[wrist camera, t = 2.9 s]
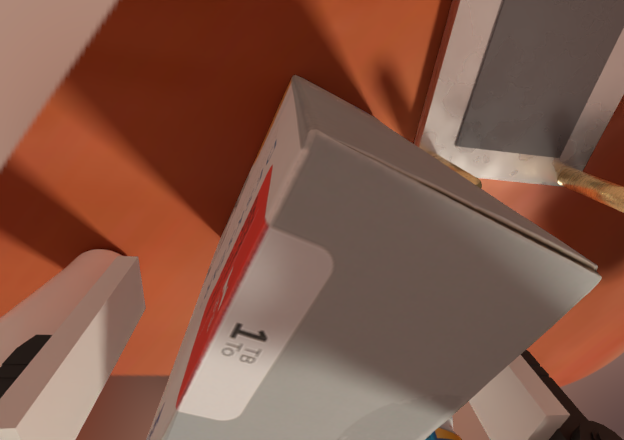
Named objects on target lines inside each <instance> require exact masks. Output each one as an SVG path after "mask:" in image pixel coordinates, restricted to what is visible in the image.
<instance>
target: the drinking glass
mask: <svg viewBox="0 0 624 440" xmlns="http://www.w3.org/2000/svg"><path fill="white" fill-rule="evenodd" d="M117 256H122V255H121V254H119V253H116V252H114V251H111V250H106V249H94V250H89V251H86V252H84V253H82V254H80V255H79V256H77V257H76V258H75V259H74V260H73V261H72V262H71V263H70V264H69V265H68V266H67V267H65V268H64V269H63V270H62V271H60V272H59V273H58V274H57V275H55V276H54V277H53V278H51V279H50V280H49V281H48V282H46V283H45V284H44V285H42V286H41V287H40V288H38V289H37V290H36V291H35V292H33V293H32V294H31V295H29V296H28V297H27V298H25V299H24V300H23V301H22V302H20V303H19V304H18V305H16V306H15V307H14V308H12V309H11V310H10V311H8V312H7V313H6V314H4V315H3V316H2V317H1V318H0V367H1V366H2V363H3V362H4V361H5V360H6V359H7V358H8V357H9V356H10V355H11V353H12V352H13V351H14V350H15V349H16V348H17V347H19V346H20V345H22V344H23V343H25V342H26V341H28V340H29V339H30V338H32V337H33V336H35V335H53V334H54V333H55V332H56V330H57V329H58V328H59V327H60V325H61V324H62V323H63V322H64V321H65V319H66V318H67V317H68V316H69V315H70V313H71V312H72V311H73V310H74V308H75V307H76V306H77V305H78V304H79V302H80V301H81V300H82V299H83V297H84V296H85V295H86V294H87V293H88V291H89V290H90V289H91V288H92V287H93V285H94V284H95V283H96V282H97V280H98V279H99V278H100V277H101V276H102V274H103V273H104V272H105V271H106V270H107V268H108V267H109V266H110V265H111V263H112V262H113V261H114V260H115V259H116V257H117Z"/></svg>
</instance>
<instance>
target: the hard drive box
mask: <svg viewBox="0 0 624 440" xmlns="http://www.w3.org/2000/svg"><path fill="white" fill-rule="evenodd" d="M597 267H598V266H597V265H596V264H594V263H593V262H591V261H590V260H588V259H587V258H585V257H584V256H583V255H581V254H580V253H578V252H577V251H575V250H574V249H572V248H571V247H569V246H568V245H566V244H565V243H563V242H562V241H560V240H559V239H557V238H556V237H554V236H553V235H551V234H549V233H548V232H546V231H545V230H543V229H542V228H540V227H539V226H537V225H536V224H534V223H533V222H531V221H529V220H528V219H526V218H525V217H523V216H522V215H520V214H518V213H517V212H515V211H514V210H512V209H511V208H509V207H508V206H506V205H505V204H503V203H502V202H500V201H499V200H497V199H496V198H494V197H493V196H491V195H490V194H488V193H487V192H485V191H484V190H482V189H481V188H479V187H478V186H476V185H475V184H473V183H472V182H470V181H469V180H467V179H466V178H464V177H463V176H461V175H460V174H458V173H457V172H455V171H454V170H452V169H451V168H449V167H448V166H446V165H445V164H443V163H442V162H440V161H439V160H437V159H436V158H434V157H433V156H431V155H430V154H428V153H427V152H425V151H424V150H422V149H421V148H419V147H417V146H416V145H414V144H413V143H411V142H410V141H408V140H406V139H405V138H403V137H402V136H400V135H399V134H397V133H396V132H394V131H393V130H391V129H390V128H388V127H387V126H386V125H384V124H383V123H381V122H380V121H379V120H378V119H376V118H375V117H373V116H372V115H370V114H368V113H366V112H365V111H363V110H361V109H359V108H357V107H356V106H354V105H352V104H350V103H348V102H346V101H345V100H343V99H341V98H339V97H337V96H335V95H333V94H332V93H330V92H328V91H326V90H324V89H322V88H321V87H319V86H317V85H315V84H313V83H311V82H309V81H307V80H306V79H304V78H302V77H299V76H297V75H293V77H292V78H291V80H290V83H289V85H288V87H287V89H286V91H285V94H284V96H283V98H282V100H281V102H280V105H279V107H278V109H277V111H276V114H275V116H274V118H273V121H272V123H271V125H270V127H269V130H268V132H267V134H266V136H265V139H264V141H263V143H262V145H261V148H260V150H259V152H258V154H257V157H256V159H255V161H254V163H253V166H252V168H251V170H250V172H249V175H248V177H247V179H246V181H245V184H244V186H243V188H242V191H241V193H240V195H239V197H238V199H237V202H236V204H235V206H234V208H233V211H232V213H231V215H230V218H229V220H228V222H227V225H226V227H225V229H224V231H223V234H222V236H221V238H220V241H219V244H218V246H217V249H216V251H215V254H214V257H213V259H212V262H211V265H210V267H209V270H208V273H207V276H206V278H205V281H204V284H203V287H202V290H201V292H200V295H199V298H198V301H197V303H196V306H195V309H194V312H193V314H192V317H191V320H190V322H189V325H188V328H187V331H186V333H185V336H184V339H183V342H182V344H181V347H180V350H179V353H178V355H177V358H176V361H175V363H174V366H173V369H172V371H171V374H170V377H169V380H168V382H167V385H166V388H165V390H164V393H163V396H162V399H161V401H160V404H159V407H158V409H157V412H156V415H155V417H154V420H153V423H152V426H151V428H150V431H149V434H148V436H147V439H146V440H425V439H426V438H427V437H428V436H429V435H431V434H432V433H433V432H434V431H435V430H436V429H437V428H439V427H440V426H441V425H442V424H443V423H444V422H446V421H447V420H448V419H449V418H450V417H451V416H452V415H454V414H455V413H456V412H457V411H458V410H459V409H460V408H461V407H463V406H464V405H465V404H466V403H467V402H468V401H469V400H470V399H471V398H473V397H474V396H475V395H476V394H477V393H478V392H479V391H480V390H481V389H482V388H483V387H485V386H486V385H487V384H488V383H489V382H490V381H491V380H492V379H493V378H494V377H496V376H497V375H498V374H499V373H500V372H501V371H502V370H504V369H505V368H506V367H507V366H508V365H509V364H510V363H511V362H513V361H514V360H515V359H516V358H517V357H518V356H519V355H520V354H522V353H523V352H524V351H525V350H526V349H527V348H528V347H530V346H531V345H532V344H533V343H534V342H535V341H536V340H537V339H539V338H540V337H541V336H542V335H543V334H544V333H545V332H546V331H548V330H549V329H550V328H551V327H552V326H553V325H554V324H555V323H556V322H557V321H558V320H560V319H561V318H562V317H563V316H564V315H565V314H566V313H567V312H568V311H569V310H570V309H571V308H572V307H574V306H575V305H576V304H577V303H578V302H579V301H580V300H581V299H582V298H583V297H584V296H586V295H587V294H588V293H589V292H590V291H591V290H592V289H593V288H594V287H595V286H596V285H597V284H598V283H599V281H600V280H601V276H600V275H599V273H598V272H597Z"/></svg>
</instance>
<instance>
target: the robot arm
mask: <svg viewBox="0 0 624 440" xmlns="http://www.w3.org/2000/svg"><path fill="white" fill-rule="evenodd" d="M145 309H146V308H145V301H144V294H143V287H142V280H141V274H140V267H139V260H138V257H132V256H117V257H116V259H115V260H114V261H113V262H112V263H111V265H110V266H109V267H108V268H107V270H106V271H105V272H104V273H103V274H102V276H101V277H100V278H99V279H98V280H97V282H96V283H95V284H94V285H93V287H92V288H91V289H90V290H89V291H88V293H87V294H86V295H85V296H84V297H83V299H82V300H81V301H80V302H79V304H78V305H77V306H76V307H75V308H74V310H73V311H72V312H71V313H70V315H69V316H68V317H67V318H66V319H65V321H64V322H63V323H62V324H61V325H60V327H59V328H58V329H57V330H56V332H55V333H54V334H53V335H35V336H33V337H32V338H30V339H29V340H28V341H26V342H25V343H23V344H22V345H20V346H19V347H17V348H16V349H15V350H14V351H13V352H12V353H11V355H10V356H9V357H8V358H7V359H6V360H5V361H4V362H3V363H2V366H1V367H0V440H75V439H76V437H77V435H78V434H79V432H80V430H81V428H82V426H83V424H84V422H85V420H86V419H87V417H88V415H89V413H90V411H91V409H92V407H93V405H94V404H95V402H96V400H97V398H98V396H99V394H100V393H101V390H102V389H103V387H104V385H105V383H106V381H107V379H108V378H109V376H110V374H111V372H112V370H113V368H114V366H115V365H116V363H117V361H118V359H119V357H120V355H121V353H122V351H123V350H124V348H125V346H126V344H127V342H128V340H129V338H130V337H131V335H132V333H133V331H134V329H135V327H136V325H137V323H138V322H139V320H140V318H141V316H142V314H143V312H144V310H145ZM469 403H470V404H471V406H472V408H473V410H474V412H475V413H476V415H477V417H478V419H479V420H480V422H481V424H482V426H483V428H484V430H485V431H486V433H487V434H488V437H489V438H490V440H623V439H622V438H621V437H619V436H618V435H617V434H616V433H615V432H613V431H612V430H610V429H609V428H607V427H605V426H604V425H602V424H599V423H597V422H594V421H588V420H587V418H586V417H585V416H584V415H583V414H582V413H581V412H580V411H579V410H578V408H577V407H576V406H575V405H574V404H573V402H572V401H571V400H570V399H569V398H568V397H567V395H566V394H565V393H564V392H563V391H562V390H561V388H560V387H559V386H558V385H557V384H556V383H555V381H554V380H553V379H552V378H550V377H549V374H548V373H547V372H546V371H545V370H544V369H543V368H542V367H540V364H539V363H538V362H537V361H536V359H535V358H534V357H533V356H532V355H531V354H530V352H529V351H527V350H525V351H524V352H523V353H522V354H520V355H519V356H518V357H517V358H516V359H515V360H514V361H513V362H511V363H510V364H509V365H508V366H507V367H506V368H505V369H504V370H502V371H501V372H500V373H499V374H498V375H497V376H496V377H494V378H493V379H492V380H491V381H490V382H489V383H488V384H487V385H486V386H485V387H483V388H482V389H481V390H480V391H479V392H478V393H477V394H476V395H475V396H474V397H473V398H471V399H470V400H469Z"/></svg>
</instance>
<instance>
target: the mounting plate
mask: <svg viewBox="0 0 624 440" xmlns="http://www.w3.org/2000/svg"><path fill="white" fill-rule="evenodd" d="M623 95H624V0H452V3H451V7H450V11H449V14H448V18H447V22H446V26H445V29H444V33H443V37H442V40H441V44H440V48H439V51H438V55H437V59H436V62H435V66H434V70H433V73H432V77H431V81H430V84H429V88H428V92H427V95H426V99H425V103H424V106H423V110H422V114H421V117H420V121H419V125H418V129H417V132H416V136H415V140H414V143H413V144H414V145H416V146H417V147H419V148H421V149H422V150H424V151H425V152H427V153H428V154H430V155H431V156H433V157H434V158H436V159H437V160H439V161H440V162H442V163H443V164H445V165H446V166H448V167H449V168H451V169H452V170H454V171H455V172H457V173H458V174H460V175H461V176H463V177H464V178H466V179H467V180H469V181H470V182H472V183H473V184H475V185H476V186H478V187H479V188H481V187H482V184H481V181H480V180H479V179H478V178H484V179H494V180H504V181H513V182H523V183H533V184H543V185H553V186H563V187H566V188H569V189H571V190H573V191H575V192H578V193H580V194H582V195H585V196H587V197H589V198H591V199H594V200H596V201H598V202H600V203H603V204H605V205H607V206H609V207H612V208H614V209H616V210H619V211H621V212H623V213H624V186H621V185H618V184H615V183H613V182H610V181H607V180H604V179H602V178H599V177H596V176H593V175H591V174H588V173H585V172H582V171H583V169H584V168H585V166H586V164H587V162H588V160H589V158H590V156H591V154H592V153H593V151H594V149H595V147H596V145H597V143H598V141H599V140H600V138H601V136H602V134H603V132H604V130H605V128H606V126H607V125H608V123H609V121H610V119H611V117H612V115H613V113H614V111H615V110H616V108H617V106H618V104H619V102H620V100H621V98H622V97H623Z"/></svg>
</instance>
